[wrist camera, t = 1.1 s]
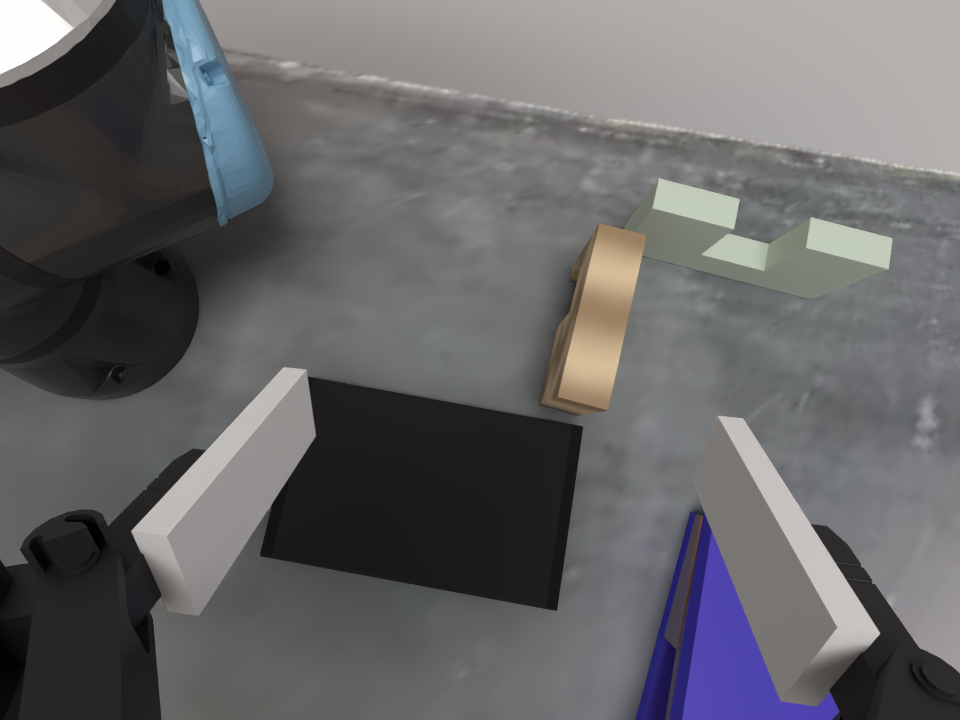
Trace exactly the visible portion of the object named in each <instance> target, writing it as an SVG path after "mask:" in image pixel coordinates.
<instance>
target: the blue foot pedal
mask: <svg viewBox="0 0 960 720" xmlns="http://www.w3.org/2000/svg"><path fill="white" fill-rule="evenodd" d="M838 713H839V709H838V707H837V705H836V703H835V701H834V699H833V697H832V695H831V693H830V692H829V694H828V695H827V696H826V697H825V698H824V699H823V701H822V702H821V703H820V704H819V705H818V706H817V707H816V706H809V705H802V704H795V703H788V702H782V701H780V699H779V696H778V694H777V691H776V689H775V687H774V684H773V682H772V679H771V677H770V674H769V672H768V669H767V667H766V664H765V662H764V659H763V657H762V654H761V652H760V649H759V647H758V644H757V642H756V639H755V637H754V634H753V632H752V629H751V627H750V624H749V622H748V619H747V617H746V615H745V612H744V610H743V607H742V605H741V602H740V600H739V597H738V595H737V592H736V590H735V587H734V585H733V582H732V580H731V577H730V575H729V572H728V570H727V567H726V565H725V562H724V560H723V557H722V555H721V552H720V550H719V547H718V545H717V542H716V540H715V538H714V535H713V533H712V530H711V528H710V525H709V523H708V520H707V518H706V515H705V513H703V516H701V515H698V514H695V513H692V512H690V516H689V520H688V523H687V527H686V531H685V535H684V539H683V542H682V546H681V550H680V554H679V558H678V561H677V565H676V569H675V573H674V576H673V580H672V584H671V588H670V592H669V595H668V599H667V603H666V607H665V611H664V614H663V618H662V622H661V626H660V629H659V633H658V637H657V641H656V645H655V648H654V652H653V656H652V660H651V664H650V667H649V671H648V675H647V679H646V683H645V686H644V690H643V694H642V698H641V701H640V705H639V709H638V713H637V717H636V720H832V719H833V718H834V717H835V716H836V715H837V714H838Z"/></svg>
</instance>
